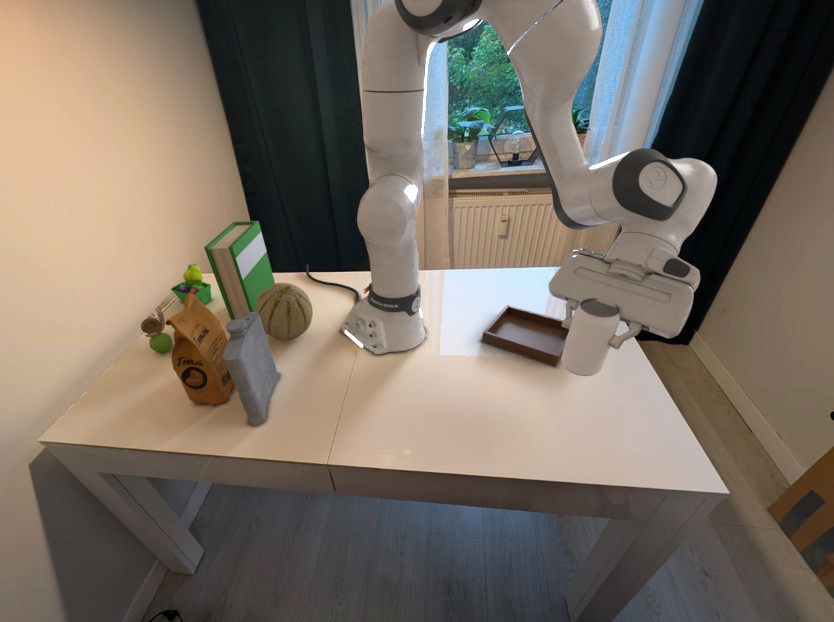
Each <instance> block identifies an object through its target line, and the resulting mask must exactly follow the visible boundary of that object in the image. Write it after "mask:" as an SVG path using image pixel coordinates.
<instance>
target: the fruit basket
mask: <svg viewBox="0 0 834 622" xmlns="http://www.w3.org/2000/svg"><path fill="white" fill-rule="evenodd" d="M182 278H183V280H184V281H182V282H180V283H178V284H177V285H174V286H172V287H171V288H170V290H171V291H172V292H173V293H174V294H175V296H176V297H177V298H178V299H179V300H180V301H181V302H182V303H185V296H186V295H187V294H189V293H192V294H193V295H194V296H195V297H196V298H197V299H199V300H200V301H201V302H202V303H203V304H204V305H205V304H207V303H209V302H210V301H212V290H211V289H212V284H211V283H208V282H204V281H203V274H202V272H201V267H199V266H198V264H197V263H190V264H188V265H187V270H185V271H184V273H183V277H182Z"/></svg>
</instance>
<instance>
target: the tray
mask: <svg viewBox="0 0 834 622" xmlns="http://www.w3.org/2000/svg"><path fill="white" fill-rule="evenodd" d="M563 321H564V319H560V318H556V317H552V316H549V315H547V314H546V315H545V314H542V313H538V312H535V311H532V310H531V311H530V310H527V309H523V308H519V307H517V306H512V305H509V304H506V305H505V306H504V307H503V308H502V309H501V311H500V312H499V313H498V314H497V316H495V318H494V319H493V320H492V321H491V322H490V323H489V325H488V326H487V327H486V328H485V329H484V330H483V331H482V336H481V342H483V343H484V344H485V343H486V344H489V345H491V346H495V347H497V348H500V349H503V350H506V351H509V352H512V353H515V354H519V355H521V356H524V357H527V358H530V359H533V360H535V361H536V360H537V361H538V362H542V363H544V364H548V365H550V366H554V367H557V366H558V364H559V362H560V361H561V358H562V354H563V350H564V347H565V343H566V340H567V336H568V333H569V330H568V329H566V328H563V327H562V323H563Z"/></svg>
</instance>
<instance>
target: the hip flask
mask: <svg viewBox="0 0 834 622" xmlns="http://www.w3.org/2000/svg"><path fill="white" fill-rule="evenodd" d="M225 329H226V331H227V332H228V333H229V338H228V342H227V345H226V347H225V351H224V355H223V358H224V361H225V363H226V365H227V368H228V370H229V373H230V375H231V377H232V380H233V382H234V385H235V387H234V388H235V389H236V392H237V394H238V396H239V399H240V402H241V403H242V406H243V408H244V411H245V413H246V416H247V417H248V420H249V423H250V424H251V425H253V426H259V425H261V424H263V423H264V422H265V420H266V416H267V415H266V413H267V406H268V403H269V400H270V397H271V393H272V391H273V389H274V386H275V385H276V383H277V381H278V380H279V377H280V376H279V373H278V370H277V366H276V363H275V359H274V356H273V353H272V351H271V348H270V344H269V341H268V338H267V334H266V333H265V331H264V328H263V325H262V322H261V318H260V315H259V313H258V312H249V313H247V314H246V315H245V316H244V317H243V318H242V319H234V320H231V319H230V321H227V323H226V324H225Z"/></svg>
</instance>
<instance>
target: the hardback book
mask: <svg viewBox="0 0 834 622" xmlns="http://www.w3.org/2000/svg"><path fill="white" fill-rule="evenodd" d="M261 228H262V227H261V225H260V221H259V220H244V221H233V222H231V223H230V225H228V226H227V227H226V228H224V230H222V231H221V232H220V233H219V234H218V235H216V236H215V237H214V238H213V239H212V240H210V241H209V242H208V243H207V244H206V245H205V246H204V247H203V248H204V251H205V253H206V256H207V260H208V262H209V264H210V268H211V270H212V272H213V275H214V278H215V281H216V284H217V286H218V289H219V292H220V294H221V295H220V296H221V297H222V300H223V302H224V305H225V308H226V311H227V314H228V316H229V319H230V321H231V320H234V319H242V318H243V317H244V316H245V315H246V314H247V313H249V312H255V311H256V302H257V299H258V297H259V295H260V294H261V293H262V292H263V291H264V290H265V289H266V288H268V287H270V286H271V285H273V284H276V281H275V278H274V274H273V270H272V266H271V262H270V260H269V255H268V252H267V247H266V244H265V240H264V237H263V233H262V229H261Z"/></svg>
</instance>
